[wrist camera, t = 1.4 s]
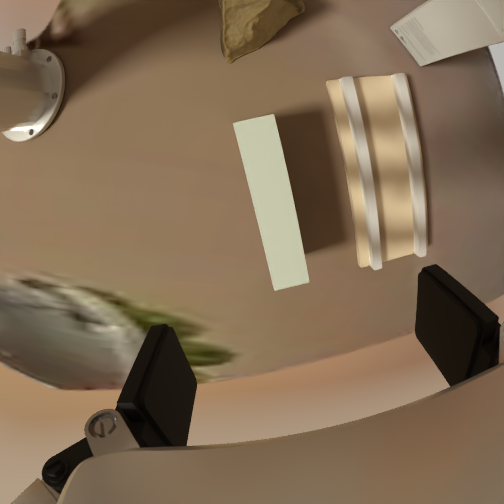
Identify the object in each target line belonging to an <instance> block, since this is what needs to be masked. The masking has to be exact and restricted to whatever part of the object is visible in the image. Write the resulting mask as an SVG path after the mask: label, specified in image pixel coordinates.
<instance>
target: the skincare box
mask: <svg viewBox="0 0 504 504" xmlns="http://www.w3.org/2000/svg"><path fill="white" fill-rule="evenodd" d="M390 29H391V30H392V31H393V32H394V34H395V35H396V36H397V37H398V39H399V40H400V41H401V42H402V44H403V45H404V46H405V47H406V49H407V50H408V51H409V52H410V54H411V55H412V56H413V58H414V59H415V60H416V62H417V63H418V64H419V65H420V66H424V65H427V64H430V63H433V62H436V61H439V60H441V59H444V58H448V57H451V56H454V55H457V54H461V53H464V52H467V51H471V50H474V49H478V48H482V47H485V46H489V45H493V44H497V43H501V42H504V0H428V1H427V2H425V3H424V4H422V5H421V6H419V7H418V8H416V9H415V10H413V11H412V12H410V13H409V14H407V15H406V16H405V17H403V18H402V19H400V20H399V21H397V22H396V23H395V24H393V25H392V26H391V27H390Z"/></svg>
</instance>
